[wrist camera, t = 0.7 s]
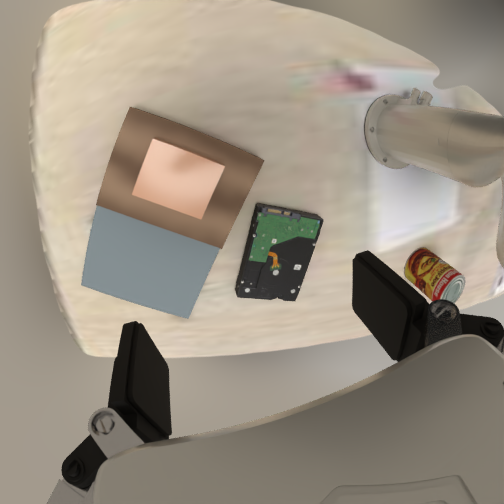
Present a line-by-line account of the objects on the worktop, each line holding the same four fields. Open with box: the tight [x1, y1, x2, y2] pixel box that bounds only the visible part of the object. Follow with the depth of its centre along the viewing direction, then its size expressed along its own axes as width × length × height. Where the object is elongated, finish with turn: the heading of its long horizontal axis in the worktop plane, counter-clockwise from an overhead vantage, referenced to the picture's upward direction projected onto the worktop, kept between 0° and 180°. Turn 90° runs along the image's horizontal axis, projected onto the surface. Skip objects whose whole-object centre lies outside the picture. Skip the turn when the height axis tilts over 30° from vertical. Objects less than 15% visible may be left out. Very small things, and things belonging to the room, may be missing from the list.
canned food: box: [404, 247, 465, 304], centre depth 47 cm, size 8×8×12 cm
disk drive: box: [235, 203, 323, 301], centre depth 42 cm, size 10×3×15 cm
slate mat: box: [81, 206, 220, 319], centre depth 39 cm, size 14×19×1 cm
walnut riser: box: [96, 107, 264, 249], centre depth 33 cm, size 13×18×3 cm
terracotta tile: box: [132, 138, 225, 219], centre depth 31 cm, size 7×9×2 cm
